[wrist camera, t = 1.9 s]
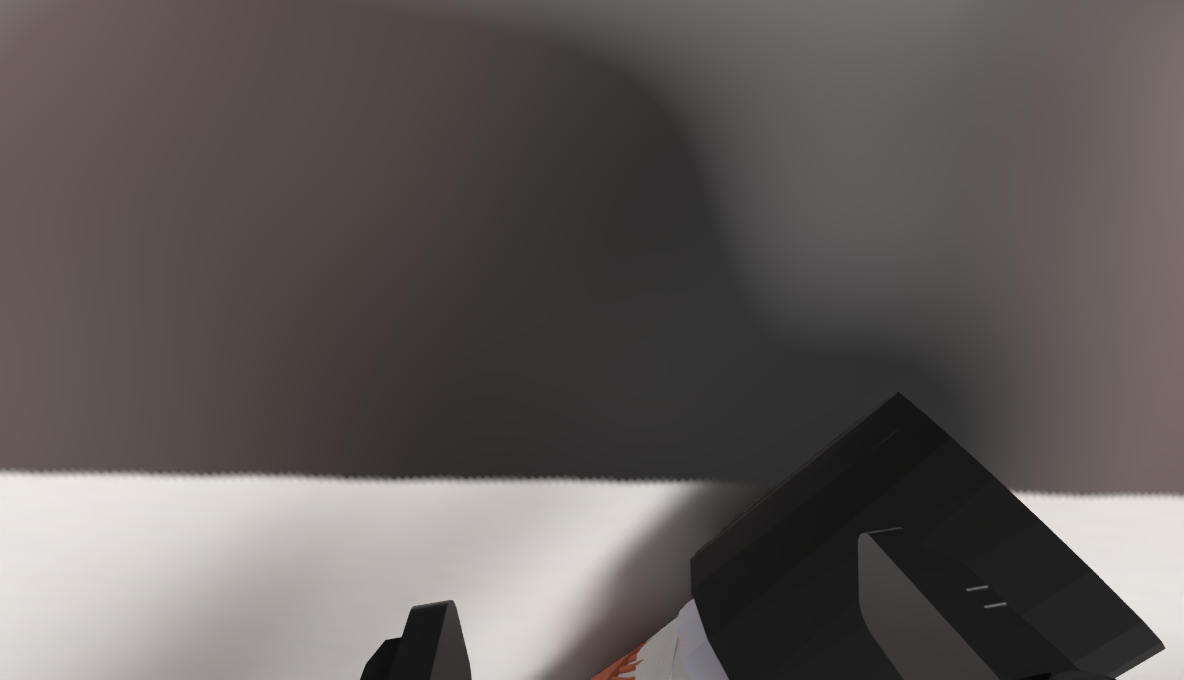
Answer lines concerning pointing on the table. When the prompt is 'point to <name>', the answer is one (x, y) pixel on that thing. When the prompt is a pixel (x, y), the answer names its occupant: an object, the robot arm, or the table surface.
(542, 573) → the table surface
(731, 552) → the cable
